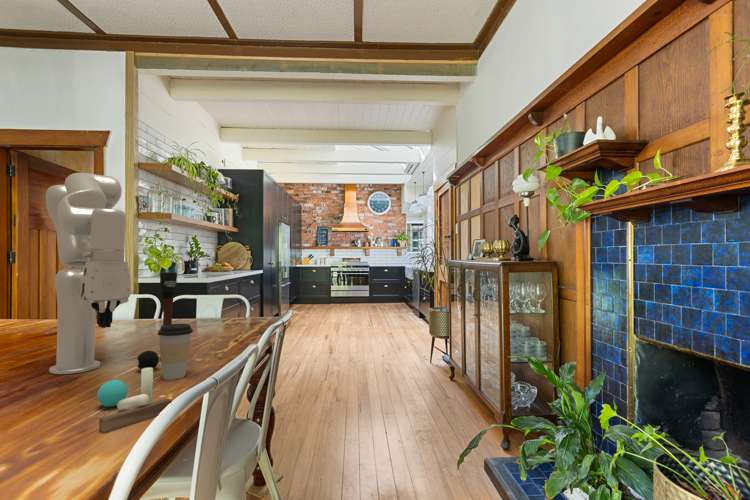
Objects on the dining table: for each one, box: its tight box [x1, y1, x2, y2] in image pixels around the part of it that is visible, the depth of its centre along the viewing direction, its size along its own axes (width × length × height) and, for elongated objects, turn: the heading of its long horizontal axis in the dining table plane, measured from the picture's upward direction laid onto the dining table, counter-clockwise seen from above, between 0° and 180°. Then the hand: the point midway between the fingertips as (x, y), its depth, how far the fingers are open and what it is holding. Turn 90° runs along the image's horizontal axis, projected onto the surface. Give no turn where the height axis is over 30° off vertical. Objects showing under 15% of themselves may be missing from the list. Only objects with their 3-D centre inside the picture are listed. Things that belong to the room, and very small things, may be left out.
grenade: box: [158, 271, 178, 326], centre depth 135 cm, size 6×6×30 cm
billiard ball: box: [136, 350, 160, 371], centre depth 123 cm, size 6×6×6 cm
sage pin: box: [140, 367, 154, 404], centre depth 93 cm, size 2×2×9 cm
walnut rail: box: [98, 397, 173, 434], centre depth 86 cm, size 2×14×2 cm, turn 148°
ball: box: [96, 379, 129, 408], centre depth 93 cm, size 6×6×6 cm
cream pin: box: [116, 393, 149, 411], centre depth 89 cm, size 2×2×9 cm
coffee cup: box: [157, 323, 194, 381], centre depth 117 cm, size 9×9×15 cm
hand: (104, 326), depth 102 cm, fingers closed
